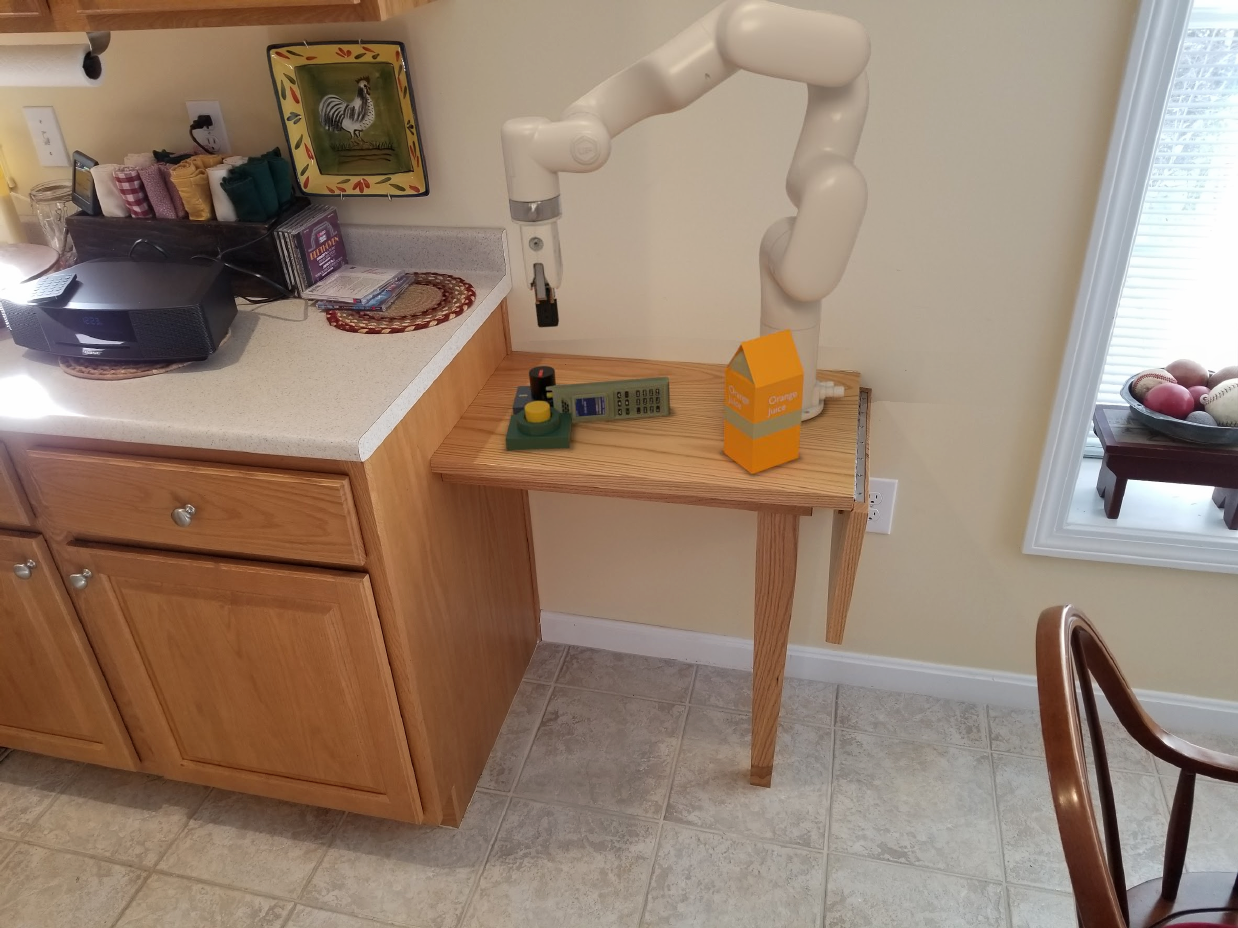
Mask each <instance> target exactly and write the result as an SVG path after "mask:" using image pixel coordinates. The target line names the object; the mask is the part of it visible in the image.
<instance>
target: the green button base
mask: <svg viewBox="0 0 1238 928" xmlns="http://www.w3.org/2000/svg"><path fill="white" fill-rule="evenodd" d="M550 415H551V417H550V419H549V420H547V421H544V422H536V423H532V422H528V421H527V420H526V415H525V409H523V410H522V411H521V412H519V413H518V414H517V415H513V414H511V415H510V419H509V423H508V427H507V432H506V436H505V446H506V450H507V451H526V450H557V449H559V450H560V449H570V447H571V438H572V437H571V436H572V429H573V423H572V416H571V413H560V412H559V411H558V410H556V409H555V408H553V407H550Z"/></svg>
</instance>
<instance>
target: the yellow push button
mask: <svg viewBox="0 0 1238 928" xmlns="http://www.w3.org/2000/svg"><path fill="white" fill-rule="evenodd" d="M525 415H526V420H527V421H528V422H532V423H536V422H544V421H547V420H549V419H550V417H551V415H550V405H549V404H548V403H547V402H544V401H534V402H530V403H528V404H527V405H526V406H525Z"/></svg>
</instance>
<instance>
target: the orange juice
mask: <svg viewBox="0 0 1238 928" xmlns="http://www.w3.org/2000/svg"><path fill="white" fill-rule="evenodd" d="M724 372H725V373H724V404H723V421H724V422H723V432H724V433H723V453H724V454H725V455H726V456H727V457H729V458H730V459H731V460H733V461H734V462H735V463H737V464H738V465H740V466H741V467H742V468H743V469H744V470H746V471H747V472H748V473H750V474H751V475H754V474H757V473H759V472H762V471H766V470H767V469H771V468H773V467H776V466H779V465H782V464H786V463H788V462H791V461H794V460H796V459H799V457H800V456H799V455H800V440H801V439H800V438H801V425H802V421H801V418H802V397H803V382H804V371H803V368H802V365H801V362H800V359H799V356H798V353H797V350H796V347H795V343H794V340H793V337H792V334H791V331H790V329H787V330H784V331H780V332H777V333H773V334H770V335H766V336H762V337H760V336H759V337H755V338H752V339H749V340H748V339H747V340H745V341H741V342H740V345H739V347H738V348H737V350H736V351H735V353H734V354H733V356H732V358H731V360H730V361H729V363H728V364H727V365H726V367H725V368H724Z"/></svg>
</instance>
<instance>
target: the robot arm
mask: <svg viewBox="0 0 1238 928" xmlns="http://www.w3.org/2000/svg"><path fill="white" fill-rule="evenodd" d="M871 53H872V45H871V38H870V36H869V33H868V31H867V30H866V28H865V27H864V26H863V24H861V22H859V21H858V20H856V19H854V18H853V17H851V16H847V15H844V14H841V13H838V12H835V11H832V10H829V9H819V8H818V9H812V10H809V9H804V8H798V7H793V6H790V5H785V4H781V3H777V2H774V1H770V0H725V1H723V2H721V3H720V4H718V5H717V6H715V7H714V8H712V9H711V10H710V11H708V12H707V13H705V14H704V15H703V16H701V17H700V18H699V19H697V20H696V21H694V22H693V23H692V24H690V25H689V26H688V27H686V28H685V29H683V30H682V31H680V32H679V33H678V34H676V35H675V36H673V37H672V38H671V39H669V40H667V41H666V42H665V43H663V44H662V45H660V46H659V47H657V48H656V49H654V50H653V51H652V52H650V53H648V54H647V55H645V56H643V57H641V58H639V59H638V60H636V61H635V62H634V63H631V64H630V65H628V66H627V67H625V68H624V69H622V70H620V71H619V72H617V73H615V74H612V76H610V77H609V78H606V79H605V80H603V81H602V82H601V83H599V84H597V85H596V86H595V87H594V88H592V89H590V90H589V91H588V92H587V93H585V94H584V95H581V97H580V98H578V99H577V100H575V101H574V102H573V103H571V104H570V105H569V106H567V107H566V108H565V109H564V110H563V111H562V112H561V113H560V115H559V116H558V118H557V120H556V122H555V121H554V122H552V121H551V120H550V119H548V118H547V117H544V116H537V115H536V116H535V115H531V116H530V115H529V116H519V117H514V118H511V119H508V120H506V121H505V122H504V123H503V124H502V126H501V128H500V140H501V147H502V149H501V150H502V155H503V164H504V172H505V180H506V181H505V182H506V188H507V197H508V202H509V211H510V212H509V213H510V220H511V222H512V223H514V224H516V225H519V232H520V242H521V251H522V259H523V267H524V268H523V269H524V275H525V281H526V287H527V289H529V291H533V290H534V291H533V293H534V298H535V303H534V305H535V313H536V322H537V327H538V328H554V327H558V326H559V324H560V323H559V322H560V318H559V317H560V316H559V307H558V299H557V298H556V290H559V289H560V288H561V286H562V280H563V274H564V264H563V255H562V250H561V249H562V248H561V239H560V232H559V226H558V225H559V224H558V221H559V220H560V219H562V218H563V207H562V197H561V185H560V176H559V175H560V173H571V174H588V173H593V172H596V171H598V170H600V169H601V168H602V167H603V166H604V165H605V164H606V163H607V162H608V160H609V159H610V156H611V154H612V153H611V152H612V140H613V139H614V138H615V137H618V136H619V135H621V134H622V133H623V132H624V131H626V130H627V129H630V128H631V127H632V126H634V125H636V124H639V123H640V122H642V121H644V120H646V119H649V118H651V117H654V116H659V115H666V114H672V113H675V112H678V111H681V110H683V109H685V108H687V107H689V106H691V105H692V104H694V103H695V102H696V101H697V100H699V99H700V98H702V97H703V96H705V95H706V94H708V93H709V92H710V91H712V90H713V89H715V88H716V87H718V86H719V85H720V84H722V83H723V82H725V81H726V80H728V79H729V78H731V77H732V76H734V75H735V74H737V73H738V72H740V71H741V70H743V71H745V72H748V73H752V74H756V75H761V76H766V77H770V78H773V79H780V80H786V81H792V82H798V83H804V84H806V87H807V105H806V110H805V113H804V114H805V115H804V118H803V123H802V127H801V130H800V134H799V137H798V140H797V143H796V146H795V150H794V153H793V156H792V159H791V162H790V166H789V168H788V172H787V175H786V179H785V191H786V195H787V197H788V199H789V201H790V202H791V204H792V205H793V206H794V207H795V208H796V209H797V214H796V216H792V215H791V216H785V217H782V218H779V219H778V220H776V221H774V222H773V223H771V224H770V225H769V227H768V228H766V230H765V232H764V234H763V236H762V238H761V241H760V243H759V244H760V245H759V252H758V265H759V278H760V280H759V281H760V319H759V337H762V336H766V335H770V334H773V333H777V332H780V331H784V330H787V329H790V331H791V334H792V337H793V340H794V343H795V347H796V350H797V353H798V356H799V359H800V362H801V365H802V368H803V371H804V382H803V397H802V418H801V422H803V421H807V420H810V419H813V418H815V417H817V416H818V415H819V414H820V413H821V412H822V411H823V409H824V405H825V403H824V402H825V401H824V400H825V399H826V398H833V399H835V398H836V399H837V398H838V399H839V398H844V397H845V387H844V385H835V384H834V383H835V382H834V381H833V380H832V381H831V380H828V381H827V380H825V381H820V380H819V379H818V378H817V371H818V357H819V346H820V345H819V344H820V332H821V331H820V330H821V321H822V320H821V319H822V303H823V300H824V299H825V298H827V297H829V295H830V294H831V293H833V291H834V290H835V289H836V288H837V286H838V285H839V284H840V282H841V280H842V278H843V276H844V274H845V272H846V269H847V267H848V263H849V260H850V258H851V255H852V252H853V249H854V247H855V244H856V241H857V238H858V235H859V233H860V230H861V227H862V224H863V221H864V218H865V214H866V212H867V209H868V200H869V190H868V188H869V187H868V184H867V180H866V178H865V175H864V174H863V173H862V171H861V170H860V168H859V167H857V165H855V164H854V163H855V159H856V155H857V152H858V148H859V145H860V142H861V139H862V134H863V131H864V127H865V124H866V121H867V117H868V110H869V105H870V83H869V77H868V71H867V66H868V64H869V61H870V58H871Z"/></svg>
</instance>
